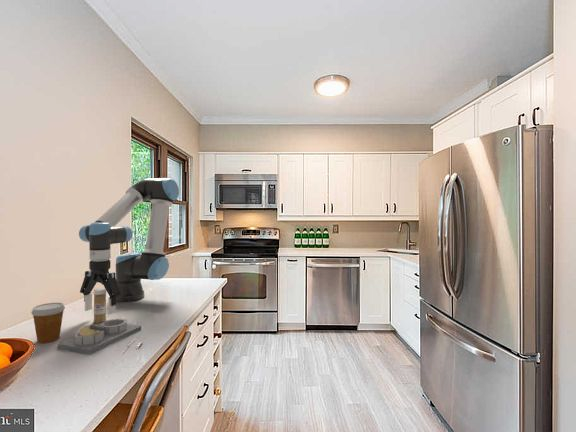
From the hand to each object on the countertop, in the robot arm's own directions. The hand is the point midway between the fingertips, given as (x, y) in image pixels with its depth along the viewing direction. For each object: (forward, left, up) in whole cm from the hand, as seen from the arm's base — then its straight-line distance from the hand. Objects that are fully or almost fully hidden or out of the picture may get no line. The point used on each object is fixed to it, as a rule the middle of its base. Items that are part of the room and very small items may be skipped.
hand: (99, 311), depth 130 cm
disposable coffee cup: (+20, -1, -4) cm, 20 cm away
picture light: (+15, +32, -5) cm, 35 cm away
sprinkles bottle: (0, 0, -4) cm, 4 cm away
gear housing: (+13, +16, -4) cm, 21 cm away
